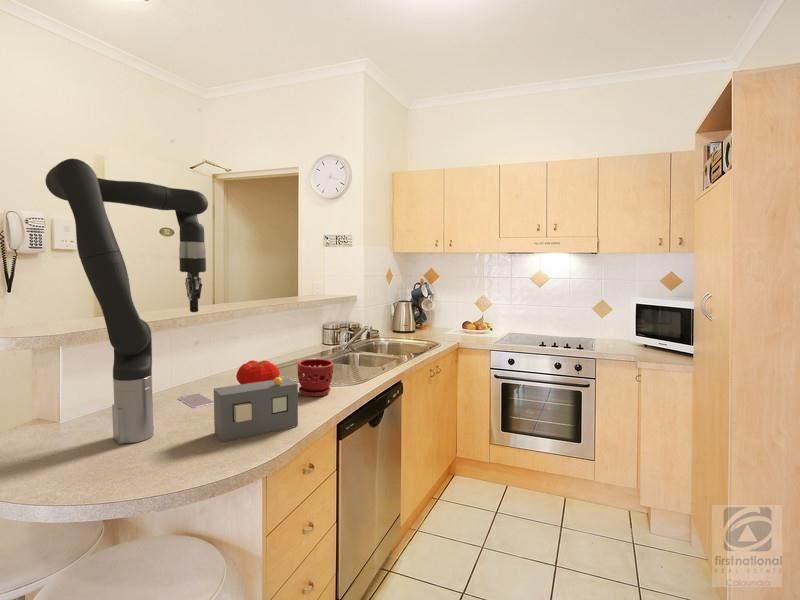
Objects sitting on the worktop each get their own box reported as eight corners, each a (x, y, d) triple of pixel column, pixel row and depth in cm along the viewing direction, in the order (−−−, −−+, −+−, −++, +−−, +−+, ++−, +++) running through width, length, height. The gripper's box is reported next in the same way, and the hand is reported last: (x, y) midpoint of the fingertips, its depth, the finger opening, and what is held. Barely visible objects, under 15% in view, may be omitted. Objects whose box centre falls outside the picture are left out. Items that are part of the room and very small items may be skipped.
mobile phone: (193, 406, 153) (176, 396, 163) (193, 409, 153) (176, 399, 163) (216, 401, 158) (198, 392, 169) (216, 404, 158) (198, 395, 169)
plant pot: (297, 399, 164) (297, 366, 163) (297, 389, 177) (297, 358, 175) (334, 397, 167) (334, 365, 166) (331, 387, 179) (331, 357, 178)
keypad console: (297, 426, 138) (297, 375, 137) (221, 441, 125) (220, 386, 124) (287, 418, 144) (287, 370, 143) (214, 432, 132) (213, 380, 130)
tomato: (286, 386, 181) (286, 361, 180) (247, 394, 169) (246, 368, 168) (268, 379, 191) (268, 356, 190) (230, 386, 179) (229, 361, 178)
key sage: (286, 410, 136) (286, 396, 135) (272, 412, 133) (272, 398, 133) (281, 406, 139) (281, 393, 139) (268, 409, 137) (267, 395, 136)
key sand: (251, 419, 128) (251, 404, 127) (236, 422, 125) (236, 407, 125) (247, 415, 131) (247, 401, 130) (232, 418, 128) (231, 403, 128)
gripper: (175, 256, 146) (177, 310, 148) (183, 256, 136) (185, 314, 137) (200, 256, 151) (202, 309, 152) (210, 257, 140) (211, 313, 141)
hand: (194, 311), depth 145 cm, fingers closed
